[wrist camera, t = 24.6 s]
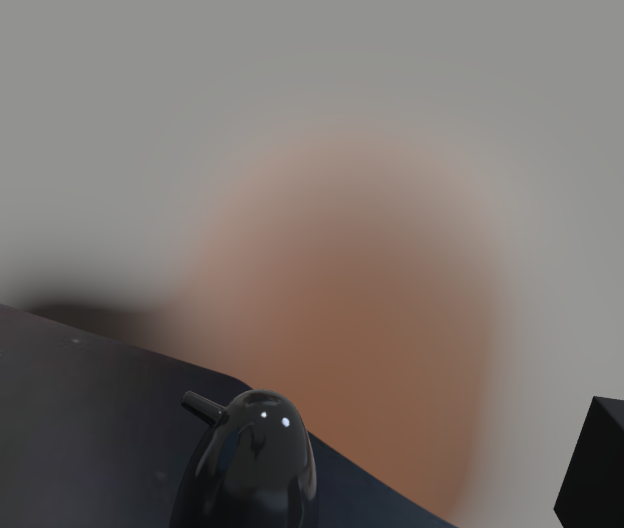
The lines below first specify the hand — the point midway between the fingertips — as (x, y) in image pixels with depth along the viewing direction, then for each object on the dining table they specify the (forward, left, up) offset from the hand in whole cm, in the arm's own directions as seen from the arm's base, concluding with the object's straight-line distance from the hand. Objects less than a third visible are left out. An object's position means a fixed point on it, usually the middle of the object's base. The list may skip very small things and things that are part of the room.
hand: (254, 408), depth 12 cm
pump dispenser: (-7, +22, -29) cm, 37 cm away
